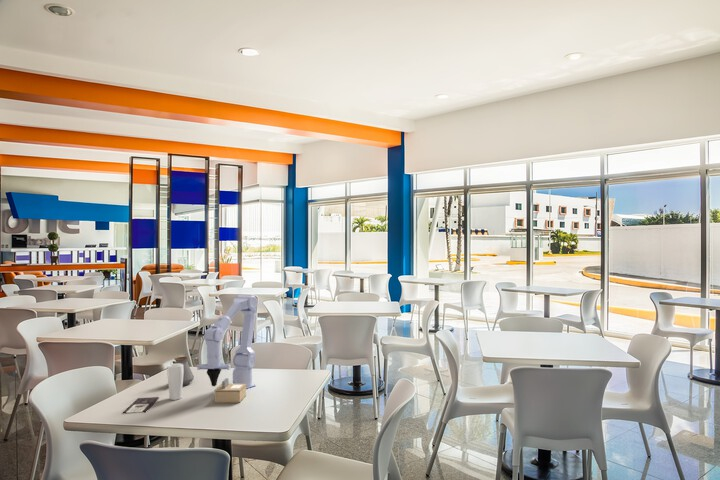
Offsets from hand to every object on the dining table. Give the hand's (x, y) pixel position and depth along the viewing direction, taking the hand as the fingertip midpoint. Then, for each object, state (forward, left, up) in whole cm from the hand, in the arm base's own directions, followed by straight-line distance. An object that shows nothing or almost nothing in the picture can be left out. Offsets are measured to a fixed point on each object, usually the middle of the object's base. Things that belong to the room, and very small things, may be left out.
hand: (214, 385), depth 210 cm
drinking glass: (-15, -10, -6) cm, 19 cm away
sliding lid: (+6, +4, -1) cm, 8 cm away
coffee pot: (-30, 0, -6) cm, 31 cm away
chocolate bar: (-18, -24, -7) cm, 31 cm away
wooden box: (+6, +4, -6) cm, 10 cm away
